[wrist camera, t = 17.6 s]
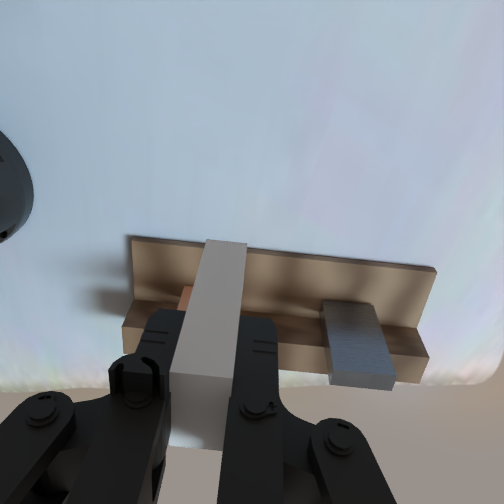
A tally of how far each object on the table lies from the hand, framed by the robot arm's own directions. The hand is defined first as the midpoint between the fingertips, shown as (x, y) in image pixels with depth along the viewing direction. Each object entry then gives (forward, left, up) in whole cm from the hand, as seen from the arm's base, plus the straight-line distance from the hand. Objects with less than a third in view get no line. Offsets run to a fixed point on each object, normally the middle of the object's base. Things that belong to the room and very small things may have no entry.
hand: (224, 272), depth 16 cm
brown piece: (+5, -21, -28) cm, 36 cm away
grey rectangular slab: (+13, -21, -27) cm, 37 cm away
